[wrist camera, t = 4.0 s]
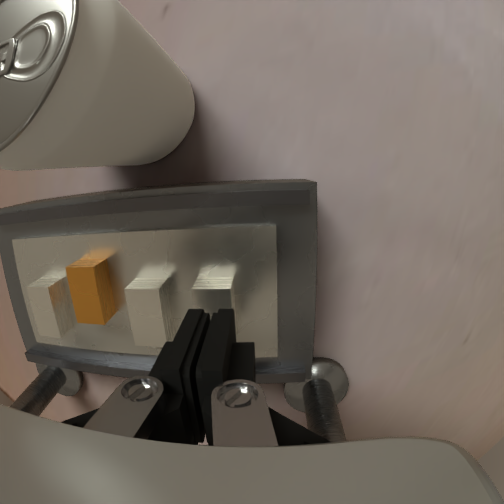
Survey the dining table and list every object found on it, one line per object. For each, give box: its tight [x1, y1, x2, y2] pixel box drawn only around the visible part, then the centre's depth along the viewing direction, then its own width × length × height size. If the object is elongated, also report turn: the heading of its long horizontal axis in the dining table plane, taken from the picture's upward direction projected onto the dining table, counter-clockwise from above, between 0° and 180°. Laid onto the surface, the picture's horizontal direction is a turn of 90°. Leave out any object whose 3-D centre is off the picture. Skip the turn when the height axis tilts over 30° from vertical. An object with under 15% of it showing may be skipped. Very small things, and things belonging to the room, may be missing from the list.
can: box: [0, 0, 195, 171], centre depth 11 cm, size 6×6×12 cm
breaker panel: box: [0, 179, 317, 384], centre depth 16 cm, size 18×10×6 cm, turn 92°
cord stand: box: [10, 357, 349, 442], centre depth 13 cm, size 24×4×17 cm, turn 92°
